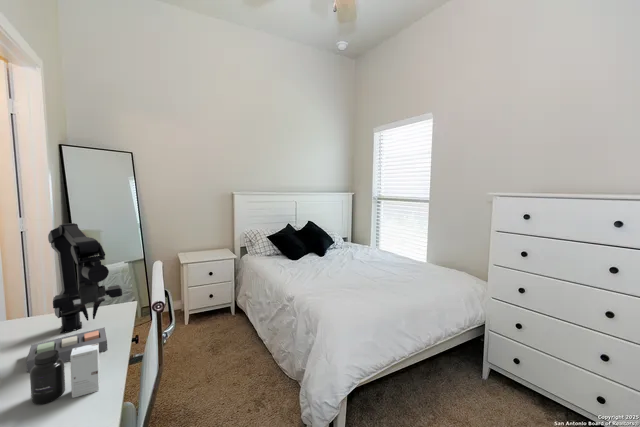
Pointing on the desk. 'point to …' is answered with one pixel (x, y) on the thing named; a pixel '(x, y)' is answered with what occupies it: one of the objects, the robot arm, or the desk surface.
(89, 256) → the robot arm
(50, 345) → the sage key
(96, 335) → the terracotta key
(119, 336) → the desk surface
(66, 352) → the keyguard
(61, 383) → the supplement bottle
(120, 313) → the desk surface
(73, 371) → the skincare box
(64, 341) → the cream key
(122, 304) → the desk surface
